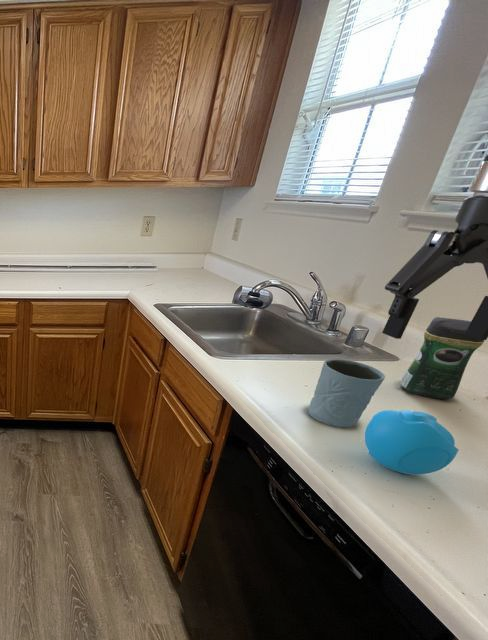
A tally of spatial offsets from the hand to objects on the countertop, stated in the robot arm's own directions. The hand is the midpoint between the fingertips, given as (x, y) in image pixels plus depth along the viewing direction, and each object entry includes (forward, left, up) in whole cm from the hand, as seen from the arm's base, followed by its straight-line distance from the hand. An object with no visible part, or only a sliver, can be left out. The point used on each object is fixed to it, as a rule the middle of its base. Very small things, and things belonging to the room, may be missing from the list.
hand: (432, 336), depth 68 cm
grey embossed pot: (+7, -13, -25) cm, 29 cm away
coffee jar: (-9, -44, -25) cm, 51 cm away
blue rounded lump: (-3, +1, -25) cm, 25 cm away
